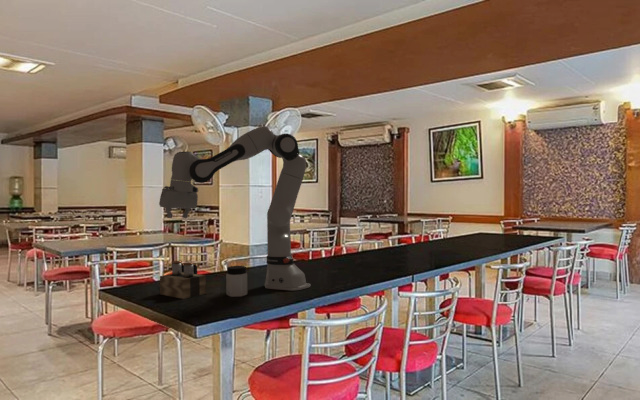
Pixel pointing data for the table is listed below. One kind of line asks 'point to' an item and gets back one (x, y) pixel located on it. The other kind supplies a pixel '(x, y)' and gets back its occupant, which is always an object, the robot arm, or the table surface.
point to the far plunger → (176, 268)
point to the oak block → (182, 285)
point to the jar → (236, 281)
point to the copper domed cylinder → (188, 270)
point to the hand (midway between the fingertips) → (177, 217)
